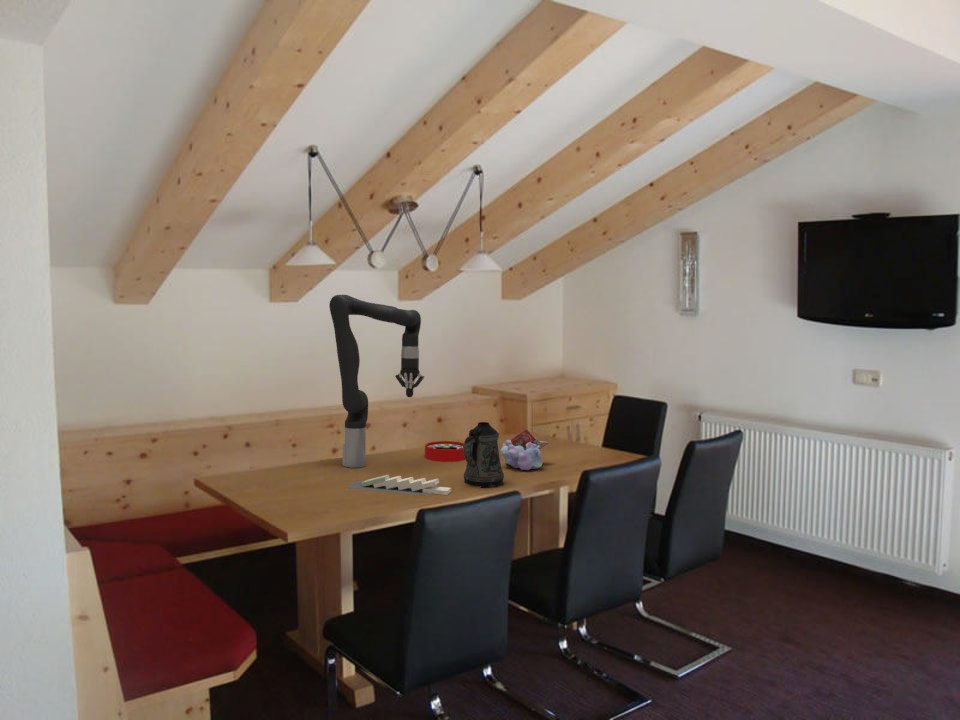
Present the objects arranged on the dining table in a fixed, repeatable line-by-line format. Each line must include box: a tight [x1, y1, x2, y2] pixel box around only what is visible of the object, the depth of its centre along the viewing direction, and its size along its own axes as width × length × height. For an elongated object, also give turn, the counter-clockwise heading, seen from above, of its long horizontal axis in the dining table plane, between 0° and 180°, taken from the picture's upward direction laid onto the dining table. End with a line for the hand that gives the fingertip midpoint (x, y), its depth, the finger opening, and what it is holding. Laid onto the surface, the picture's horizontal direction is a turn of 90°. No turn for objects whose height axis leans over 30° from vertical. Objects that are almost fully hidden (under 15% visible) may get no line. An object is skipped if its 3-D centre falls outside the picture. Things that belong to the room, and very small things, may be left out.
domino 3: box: [385, 476, 415, 489], centre depth 319 cm, size 2×5×10 cm
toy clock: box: [424, 440, 466, 463], centre depth 381 cm, size 20×6×20 cm
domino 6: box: [423, 485, 452, 496], centre depth 316 cm, size 2×5×10 cm
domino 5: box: [411, 478, 440, 491], centre depth 317 cm, size 2×5×10 cm
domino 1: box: [362, 474, 391, 487], centre depth 322 cm, size 2×5×10 cm
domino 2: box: [373, 475, 403, 488], centre depth 321 cm, size 2×5×10 cm
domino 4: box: [398, 477, 427, 490], centre depth 318 cm, size 2×5×10 cm
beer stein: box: [463, 421, 505, 489], centre depth 332 cm, size 16×19×25 cm
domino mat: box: [344, 480, 432, 497], centre depth 321 cm, size 35×12×1 cm, turn 75°
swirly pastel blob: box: [499, 429, 550, 471], centre depth 365 cm, size 20×22×18 cm
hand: (409, 397), depth 349 cm, fingers closed
